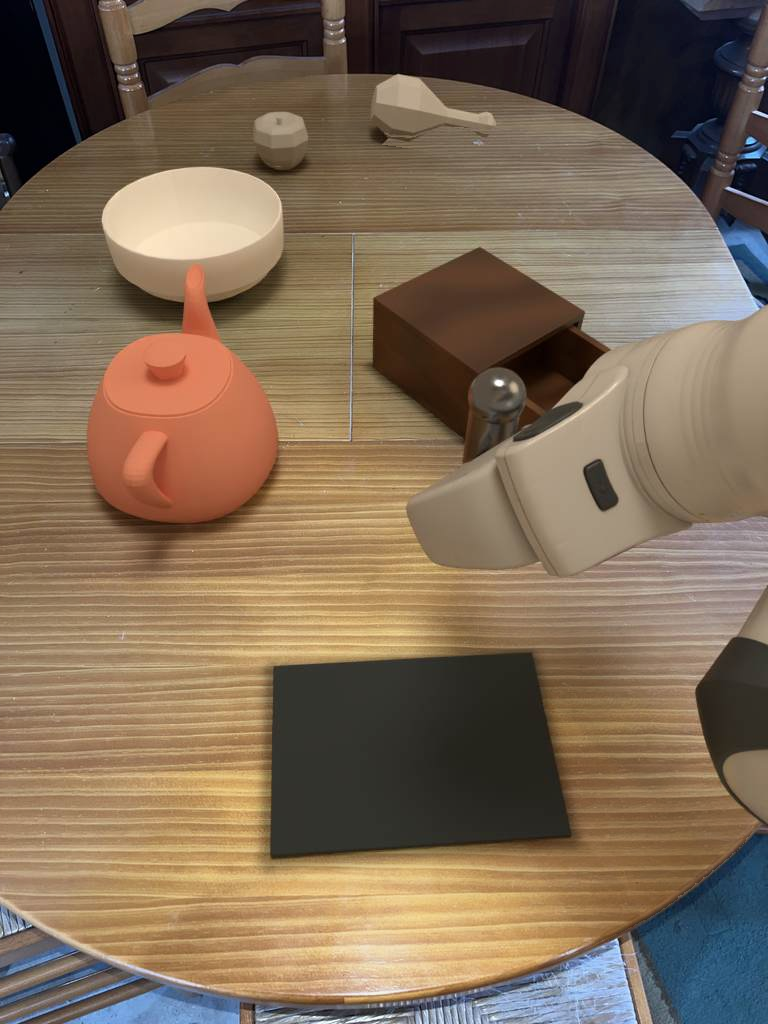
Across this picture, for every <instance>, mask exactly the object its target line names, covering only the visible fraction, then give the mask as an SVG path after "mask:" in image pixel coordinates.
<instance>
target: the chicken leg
mask: <svg viewBox="0 0 768 1024" xmlns="http://www.w3.org/2000/svg"><path fill="white" fill-rule="evenodd" d="M370 119H371V121H372V122H373V123H374V124H375V125H376V126H377V127H378V129H379V130H380V131H381V132H382V131H383V132H385V133H388V134H390V135H394V134H395V135H410V136H413V135H416V134H419V133H422V132H425V131H429V130H432V129H435V128H437V129H439V128H441V127H449V128H454V127H464V128H479V129H483V130H492V129H494V128H495V129H496V127H497V122H496V119H495V117H494V116H493V113H491V112H489V111H483V112H479V113H475V112H469V111H464V110H460V109H455V108H449V107H447V106H446V105H445V104H444V103H443V102H442V101H441V100H440V99H439V97H438V96H437V95H435V94H434V92H433V91H432V90H431V89H430V88H429V87H428V86H427V85H426V84H425V83H424V82H423V81H422V79H421V78H419V77H414V76H409V75H404V74H400V73H397V74H395V75H394V76H391V77H390V78H387V79H386V80H385V81H382V82H380V83H379V84H376V85H375V88H374V91H373V95H372V100H371V105H370ZM438 127H439V128H438ZM435 130H436V129H435ZM468 131H469V132H470V130H468ZM383 132H382V133H383ZM473 132H474V133H476V135H477V136H480V137H481V138H487V137H488V136H490V135H491V134H492V133H493V132H491V133H490V134H483V133H480V132H477V131H473ZM426 134H427V133H425V134H422V135H419V136H416V137H412V138H405V137H390V136H386V138H387V139H393V140H398V141H403V142H408V143H410V142H412V141H413V140H416V139H418V138H420V137H422V136H424V135H426Z"/></svg>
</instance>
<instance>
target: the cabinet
mask: <svg viewBox="0 0 768 1024" xmlns="http://www.w3.org/2000/svg"><path fill="white" fill-rule="evenodd" d="M372 301H373V302H372V303H373V304H372V368H374V369H375V370H377V371H378V372H379V373H381V374H382V375H383V376H384V377H386V378H387V379H388V380H389V381H390V382H392V383H393V384H395V385H396V386H397V387H398V388H399V389H400V390H401V391H403V392H405V393H406V394H407V395H408V396H410V397H411V398H412V399H414V400H415V401H416V402H417V403H418V404H420V405H421V406H422V407H424V408H425V409H426V410H428V411H429V412H430V413H431V414H432V415H434V416H435V417H436V418H438V419H439V420H440V421H441V422H443V423H444V424H445V425H447V426H448V427H449V428H450V429H451V430H453V431H454V432H455V433H457V434H458V435H459V436H460V437H462V438H463V439H464V440H465V438H466V431H467V424H468V416H469V409H470V407H469V403H468V391H469V387H470V385H471V383H472V381H473V380H474V378H475V377H476V376H477V375H478V374H479V373H481V372H482V371H484V370H486V369H489V368H493V367H500V366H501V365H503V364H505V363H507V362H508V361H510V360H512V359H514V358H515V357H517V356H519V355H521V354H522V353H524V352H526V351H528V350H529V349H531V348H533V347H534V346H536V345H538V344H540V343H541V342H543V341H545V340H547V339H548V338H550V337H552V336H554V335H555V334H557V333H559V332H561V331H562V330H564V329H566V328H568V327H569V326H571V325H573V326H575V327H576V328H578V329H580V330H581V331H582V327H583V324H584V323H583V322H584V318H585V315H586V311H585V310H583V309H582V308H580V307H579V306H577V305H576V304H574V303H572V302H571V301H570V300H568V299H565V298H564V297H562V296H560V295H559V294H558V293H556V292H554V291H553V290H551V289H549V288H548V287H547V286H544V285H543V284H541V283H540V282H538V281H536V280H534V279H533V278H531V277H530V276H528V275H527V274H525V273H523V272H522V271H520V270H518V269H517V268H515V267H514V266H512V265H511V264H509V263H507V262H505V261H504V260H503V259H500V258H499V257H497V256H495V255H494V254H493V253H491V252H489V251H487V250H486V249H484V248H482V247H481V246H478V247H475V248H473V249H471V250H470V251H468V252H466V253H463V254H461V255H459V256H457V257H455V258H453V259H451V260H449V261H447V262H445V263H443V264H441V265H438V266H435V268H432V269H429V270H428V271H426V272H424V273H422V274H419V275H417V276H415V277H413V278H411V279H410V280H407V281H405V282H403V283H401V284H399V285H397V286H394V287H393V288H391V289H388V290H385V291H384V292H382V293H380V294H378V295H376V296H374V297H373V299H372Z"/></svg>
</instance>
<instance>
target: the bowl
mask: <svg viewBox="0 0 768 1024" xmlns="http://www.w3.org/2000/svg"><path fill="white" fill-rule="evenodd" d="M283 214H284V213H283V203H282V201H281V199H280V197H279V195H278V193H277V192H276V191H275V189H274V188H273V187H272V186H270V184H268V183H267V182H265V181H263V180H262V179H260V178H257V177H255V176H253V175H251V174H249V173H246V172H242V171H238V170H236V169H235V170H234V169H228V168H222V167H209V166H195V167H192V166H191V167H181V168H175V169H169V170H165V171H160V172H156V173H152V174H150V175H147V176H144V177H141V178H139V179H136V180H135V181H133V182H131V183H128V184H127V185H125V186H124V187H123V188H121V189H120V190H118V191H117V192H116V193H114V195H112V197H111V198H110V199H108V201H107V203H106V204H105V206H104V207H103V210H102V215H101V227H102V230H103V235H104V237H105V240H106V244H107V247H108V250H109V253H110V256H111V258H112V261H113V264H114V266H115V268H116V270H117V271H118V273H119V274H120V275H121V276H122V277H123V278H124V279H126V280H127V281H128V282H129V283H131V284H133V285H135V286H136V287H139V288H140V289H141V290H142V291H144V292H145V293H147V294H149V295H151V296H154V297H157V298H160V299H162V300H167V301H173V302H179V303H184V298H185V279H186V275H187V272H188V270H189V268H190V267H191V266H192V265H194V264H200V265H201V266H202V268H203V270H204V275H205V293H206V300H207V304H208V303H209V304H210V303H214V302H215V303H216V302H220V301H223V300H226V299H227V300H228V299H230V298H232V297H234V296H235V297H236V296H237V295H239V294H241V293H243V292H246V291H247V290H250V289H251V288H252V287H254V286H256V285H257V284H259V283H260V282H261V281H262V280H263V279H264V278H265V277H266V276H267V275H268V274H269V272H270V271H271V270H272V269H273V268H274V267H275V266H276V264H277V263H278V262H279V260H280V258H281V257H282V254H283V250H284V217H283V216H284V215H283Z"/></svg>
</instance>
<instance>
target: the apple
mask: <svg viewBox="0 0 768 1024" xmlns="http://www.w3.org/2000/svg"><path fill="white" fill-rule="evenodd" d="M252 138H253V143H254V146H255V149H256V151H257V154H258V156H259V158H260V159H261V160H262V162H263V163H264V164H265V165H266V166H267V167H269V168H270V169H274V170H276V171H291V169H293V168H295V167H297V166H298V165H299V164H300V163H302V161H303V158H304V157H305V155H306V154H307V149H308V144H309V134H308V131H307V127H306V124H305V121H304V118H303V117H302V116H300V115H297V114H295V113H292V112H290V111H272V112H271V111H269V112H267V113H265V114H263V115H261V116H259V117H257V118H256V119H255V120H254V122H253V127H252ZM299 161H300V162H299ZM265 162H266V163H265ZM267 163H269V164H267ZM270 164H271V165H270ZM273 165H274V166H273ZM292 165H293V166H292ZM275 166H281V167H275Z"/></svg>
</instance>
